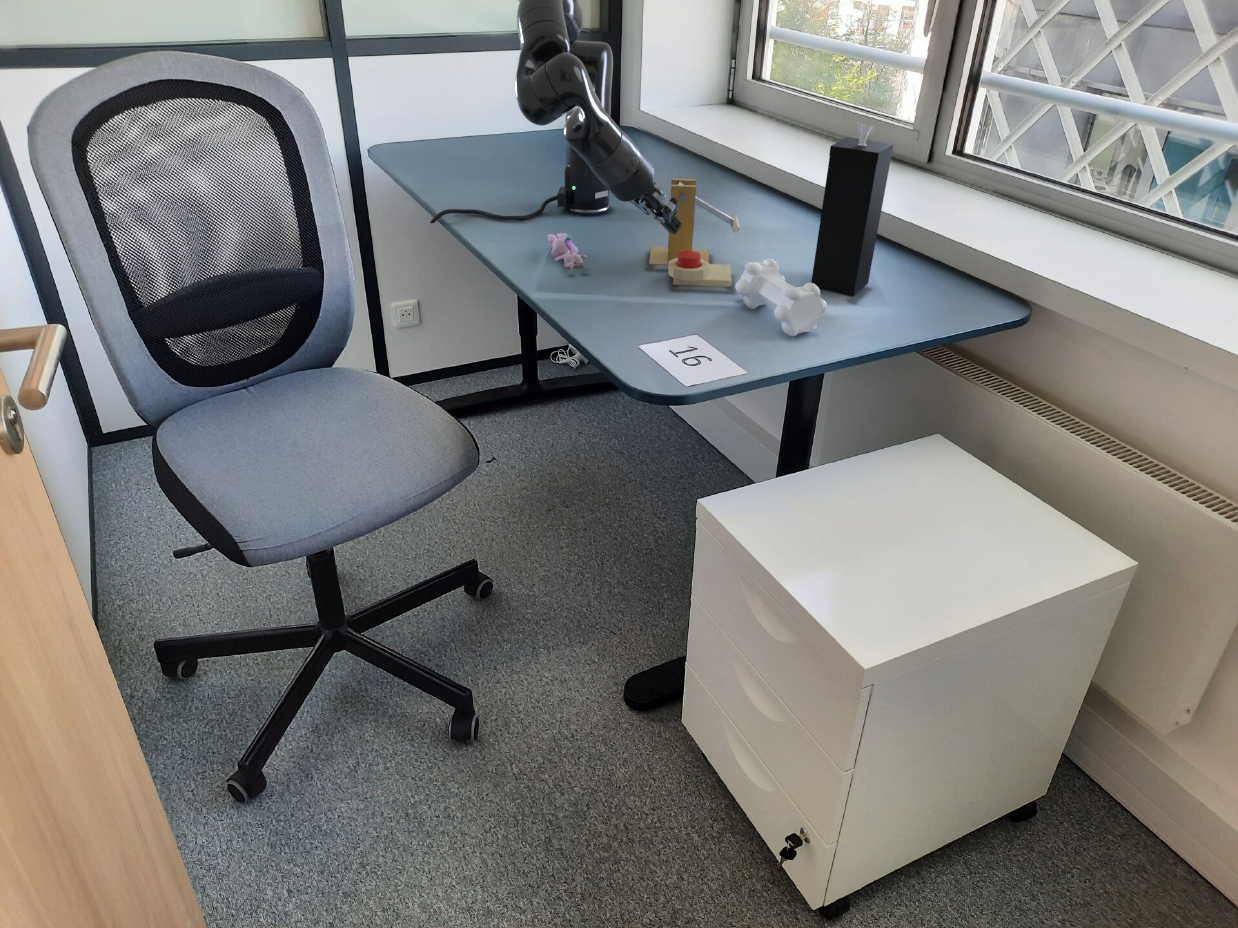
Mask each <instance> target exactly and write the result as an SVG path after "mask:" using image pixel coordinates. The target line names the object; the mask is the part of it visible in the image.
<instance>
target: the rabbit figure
mask: <svg viewBox="0 0 1238 928" xmlns="http://www.w3.org/2000/svg"><path fill="white" fill-rule="evenodd" d="M547 240H548V243H549V244H550V245H551V246H552V249H551V253H550V254H551V255H552V256H553V257H554V259H553V261H554V262H558V261H560V260H563V266H564V267H565V268H566V269H570V271H571V272H572V271H573V268H575V267H577V268H583V270H586V264H585V262H584V260H583V259H587V258H588V256H587V255H586V254H580V253H578V252H579V249H578V247H577V246H576V245H575V244H574V243H573V240H572V237H571V235H568V233H566V232H560V233H559V232H558V233H557V236H556V235H555V234H552V233H549V234H547ZM582 258H583V259H582Z"/></svg>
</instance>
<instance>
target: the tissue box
mask: <svg viewBox="0 0 1238 928" xmlns="http://www.w3.org/2000/svg"><path fill="white" fill-rule="evenodd" d="M876 129H877V126H873V125H871V124H869V123H863V122H861V121H857V137H850V136H847V137H845V138H843V139H841V140H839V141H838V142H835V143H833V144H831V145H830V149H829V155H828V156H829V159H828V165H827V172H826V177H825V186H824V191H823V193H824V194H823V198H822V199H823V201H822V207H821V212H820V220H819V226H818V233H817V239H816V240H817V241H816V247H815V255H814V260H813V261H814V262H813V267H812V275H811V281H810V283H813V284H815V285H816V286H817V287H818V288H819V290H820V291H821V290H822V291H826V292H830V293H835V294H839V295H844V296H847V297H855V296H856V295H857V294H858V293H859V292H860V291H861V290H863V289H864V287H866V286H867V285H868V284H869V280H870V275H871V269H872V264H873V258H874V255H875V254H874V253H875V249H876V248H875V247H876V241H877V238H878V237H877V236H878V231H879V225H880V220H881V215H882V210H883V204H884V197H885V193H886V187H887V183H888V176H889V170H890V165H891V160H892V154H893V153H894V152H893V151H894V146H895V145H894V143H893V142H886V141H878V140H871V139H870V138H871V136H872V134H873V133H874V132H875V130H876Z"/></svg>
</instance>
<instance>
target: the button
mask: <svg viewBox="0 0 1238 928" xmlns="http://www.w3.org/2000/svg"><path fill="white" fill-rule="evenodd" d="M700 262H701V254H700V253H698V252H695V251H682V252H679V253H678V259H677V266H679V267H682V268H690V269H693V268H699V267H700Z"/></svg>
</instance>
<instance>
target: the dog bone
mask: <svg viewBox="0 0 1238 928" xmlns="http://www.w3.org/2000/svg"><path fill="white" fill-rule="evenodd" d="M735 290H736V292H737V293H738V294H739V295H742V302H743V304H744V305H745V306H746V308H748V309H751V310H755V309H757V308H758V307H759V306H766V307H767V308H769V309H771V310H772V311H773V315H774V317H775V319H777V320H778V321H780V322H781V329H782V331H783V332H784V334H786V335H787V336H789V337H796V336H797V335H798V334H801V333H811V332H814V331H815V330H816V329H817V324H818V323H819V321H820V320H821V318H822V316H823V315H824V314H825V312H827V309H828V303H827V302H826V300H824V299H823V298H822V297H821V289H819V288H818V287H817V286H816V285H815V284H813V283H811V281H810V282H805V283H804V284H803V285H802V286H793V285H792V284H790V283H789V282H787V281H786V278H785V276H784V275H783V274H781V273H780V271H779V264H778V263H777V261H776V260H774V259H772V258H770V257H767V258H765V259H764V260H762V261H761V262H760V261H759V262H755V261H749V262H747V263H746V264H745V265H744V271H743V273H742V274H741V277H740V278H739V279H738V280H737V281H736V282H735Z"/></svg>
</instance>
